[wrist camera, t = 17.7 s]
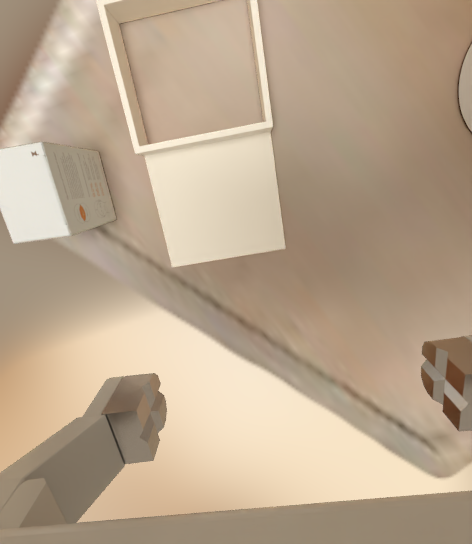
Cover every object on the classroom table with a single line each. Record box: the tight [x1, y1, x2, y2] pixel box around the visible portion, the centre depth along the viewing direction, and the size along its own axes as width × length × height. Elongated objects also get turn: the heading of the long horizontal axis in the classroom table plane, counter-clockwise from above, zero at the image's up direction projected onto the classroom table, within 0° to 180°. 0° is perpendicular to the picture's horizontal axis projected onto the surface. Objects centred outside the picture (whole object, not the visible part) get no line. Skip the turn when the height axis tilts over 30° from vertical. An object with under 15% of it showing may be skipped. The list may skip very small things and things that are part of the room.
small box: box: [0, 142, 117, 244], centre depth 30 cm, size 8×6×10 cm
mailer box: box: [96, 0, 286, 267], centre depth 32 cm, size 14×26×4 cm, turn 10°
